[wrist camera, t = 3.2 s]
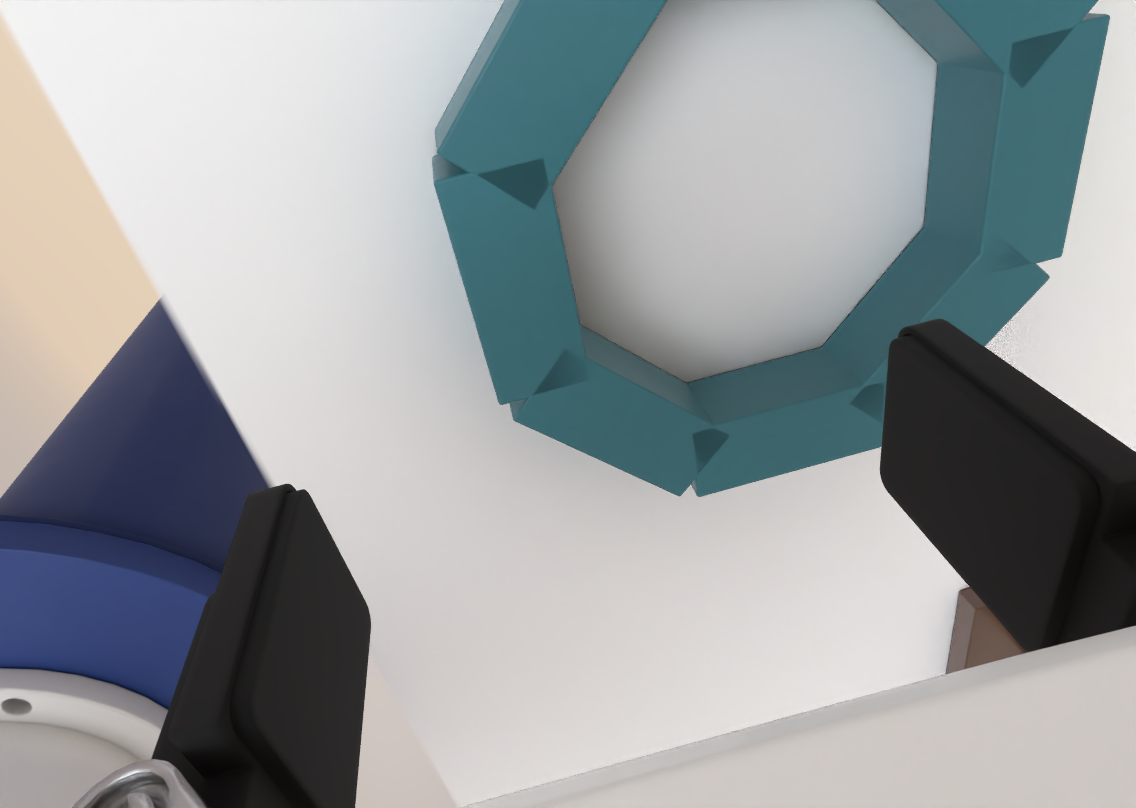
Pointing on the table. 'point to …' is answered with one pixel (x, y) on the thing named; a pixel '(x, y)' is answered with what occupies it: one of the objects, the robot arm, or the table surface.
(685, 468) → the ring
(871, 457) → the table surface
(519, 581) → the table surface
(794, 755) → the robot arm
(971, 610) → the holder
